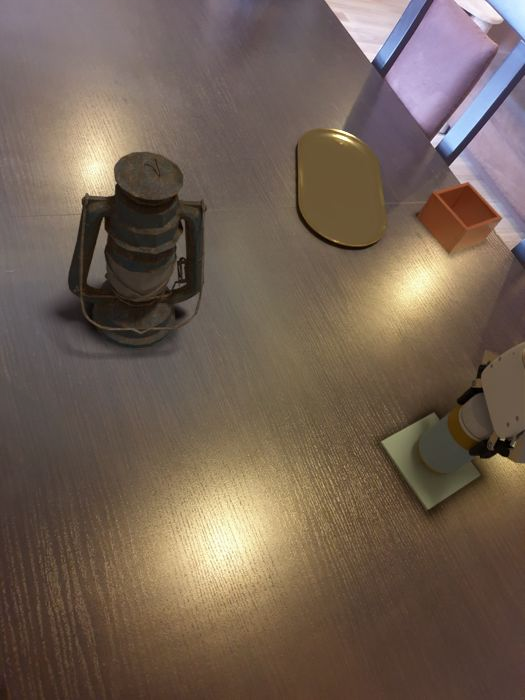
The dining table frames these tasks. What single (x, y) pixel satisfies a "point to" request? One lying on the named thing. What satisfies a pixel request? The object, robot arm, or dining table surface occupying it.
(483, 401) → the bottle
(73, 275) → the lantern
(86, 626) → the dining table surface
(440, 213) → the box
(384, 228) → the serving platter
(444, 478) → the mat
